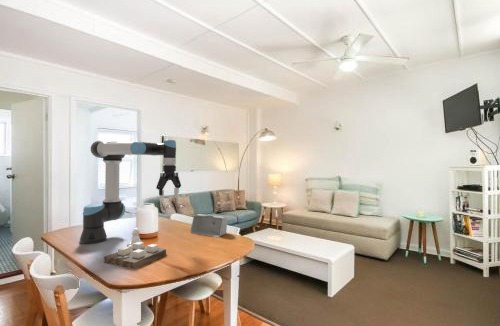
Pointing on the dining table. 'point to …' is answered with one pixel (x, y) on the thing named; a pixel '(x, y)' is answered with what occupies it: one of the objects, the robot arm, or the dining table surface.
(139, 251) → the button
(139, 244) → the button
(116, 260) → the board
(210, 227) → the grey rectangular block
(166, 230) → the dining table surface
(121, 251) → the button
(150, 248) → the button
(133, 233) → the seated beast figurine
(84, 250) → the dining table surface
